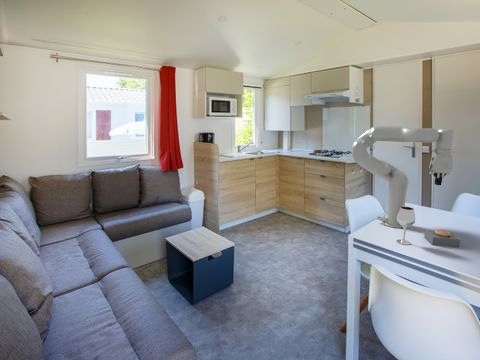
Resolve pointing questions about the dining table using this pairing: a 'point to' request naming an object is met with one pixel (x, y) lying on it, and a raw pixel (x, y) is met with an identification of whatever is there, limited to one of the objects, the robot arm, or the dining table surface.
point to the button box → (442, 239)
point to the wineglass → (405, 221)
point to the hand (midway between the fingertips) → (437, 184)
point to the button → (442, 233)
